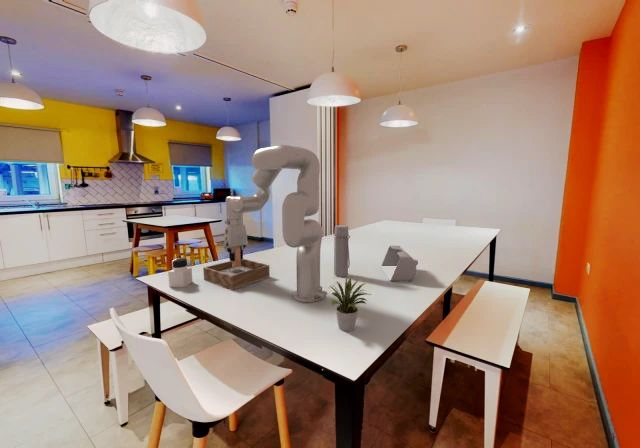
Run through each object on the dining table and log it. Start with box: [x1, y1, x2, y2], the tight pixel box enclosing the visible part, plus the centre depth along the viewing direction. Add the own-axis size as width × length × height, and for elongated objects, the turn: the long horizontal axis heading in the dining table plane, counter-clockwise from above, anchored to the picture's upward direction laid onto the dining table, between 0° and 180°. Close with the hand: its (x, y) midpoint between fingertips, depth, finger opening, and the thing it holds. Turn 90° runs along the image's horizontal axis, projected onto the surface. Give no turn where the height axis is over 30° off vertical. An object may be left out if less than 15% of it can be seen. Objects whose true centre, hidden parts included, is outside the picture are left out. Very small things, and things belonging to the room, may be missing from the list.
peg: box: [232, 246, 241, 267], centre depth 136 cm, size 4×4×10 cm
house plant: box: [329, 277, 372, 332], centre depth 88 cm, size 14×14×16 cm
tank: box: [380, 245, 419, 282], centre depth 144 cm, size 25×16×12 cm, turn 178°
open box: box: [202, 258, 270, 291], centre depth 137 cm, size 22×22×6 cm
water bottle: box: [333, 224, 351, 278], centre depth 140 cm, size 9×8×25 cm
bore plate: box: [219, 266, 252, 276], centre depth 137 cm, size 14×14×2 cm
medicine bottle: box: [167, 257, 193, 288], centre depth 128 cm, size 7×7×12 cm
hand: (236, 259), depth 136 cm, fingers closed on peg, 4 cm apart
